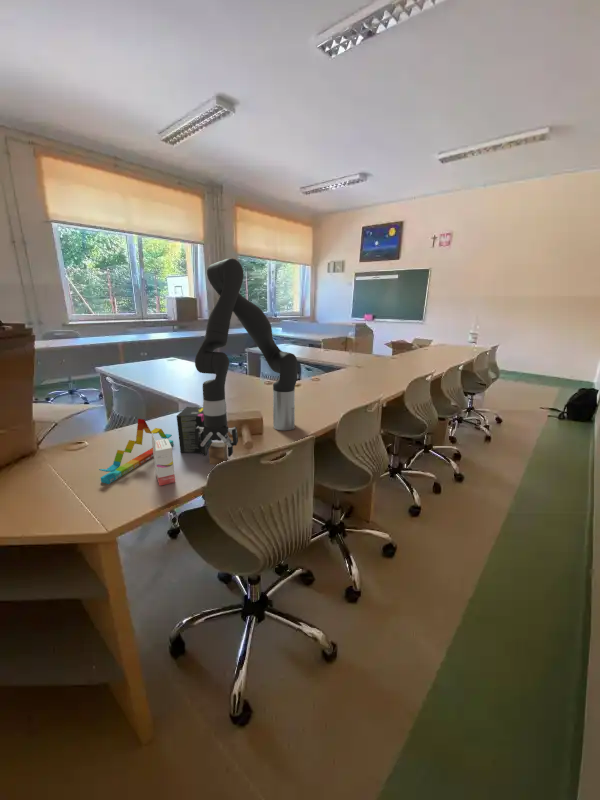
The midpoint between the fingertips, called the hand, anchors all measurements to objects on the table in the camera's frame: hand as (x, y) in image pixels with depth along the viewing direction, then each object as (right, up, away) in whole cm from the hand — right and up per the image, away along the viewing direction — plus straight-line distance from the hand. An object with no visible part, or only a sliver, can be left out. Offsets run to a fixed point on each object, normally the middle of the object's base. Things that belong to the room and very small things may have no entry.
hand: (217, 455), depth 118 cm
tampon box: (-11, +1, +11) cm, 16 cm away
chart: (-26, -2, 0) cm, 26 cm away
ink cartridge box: (-14, -6, -11) cm, 18 cm away
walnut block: (0, -2, +1) cm, 2 cm away
